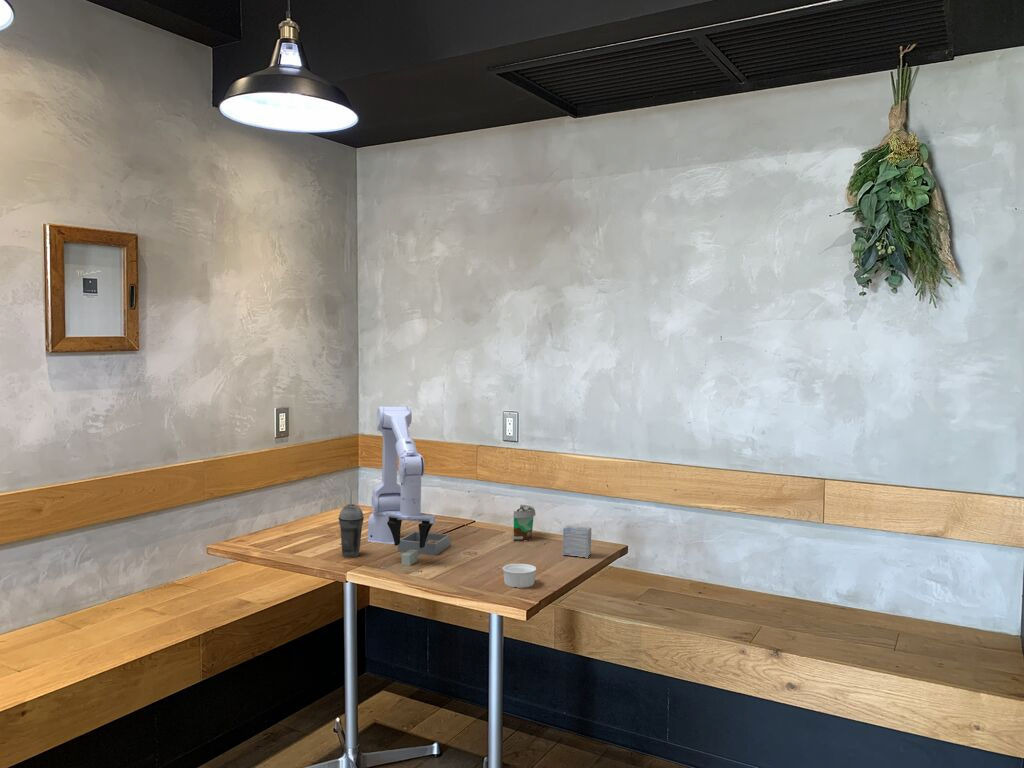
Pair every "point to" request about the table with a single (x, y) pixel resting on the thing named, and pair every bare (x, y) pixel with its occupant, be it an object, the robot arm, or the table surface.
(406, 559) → the lid
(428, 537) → the storage box
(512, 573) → the ramekin
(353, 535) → the beverage cup
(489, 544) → the table surface
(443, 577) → the table surface
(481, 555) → the table surface
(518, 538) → the food container
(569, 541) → the medicine box
